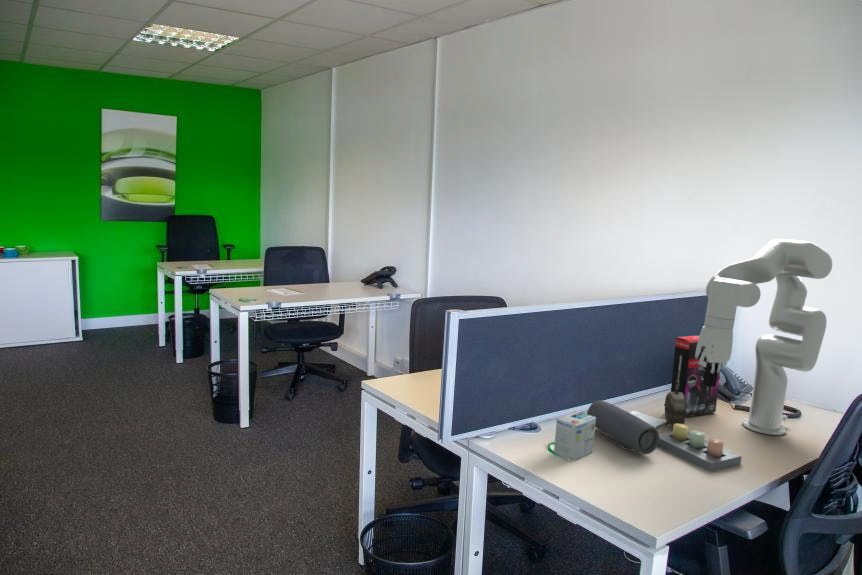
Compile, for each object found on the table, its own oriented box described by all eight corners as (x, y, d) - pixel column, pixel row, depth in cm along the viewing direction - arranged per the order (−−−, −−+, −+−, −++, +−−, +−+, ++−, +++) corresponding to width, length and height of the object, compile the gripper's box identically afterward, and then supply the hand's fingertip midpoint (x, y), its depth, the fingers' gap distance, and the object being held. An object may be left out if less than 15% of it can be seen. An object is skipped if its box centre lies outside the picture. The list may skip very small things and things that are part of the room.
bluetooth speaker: (659, 456, 172) (663, 423, 170) (633, 460, 168) (637, 426, 167) (607, 427, 193) (610, 397, 191) (583, 429, 189) (586, 399, 187)
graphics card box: (682, 419, 204) (691, 341, 200) (665, 412, 210) (675, 336, 206) (716, 413, 212) (726, 338, 208) (699, 406, 218) (709, 333, 214)
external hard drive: (655, 431, 193) (620, 419, 202) (667, 426, 198) (633, 414, 208) (655, 426, 193) (621, 414, 202) (668, 421, 198) (634, 409, 207)
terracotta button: (712, 450, 173) (714, 437, 172) (725, 456, 169) (726, 443, 169) (703, 452, 171) (705, 439, 170) (715, 458, 167) (717, 445, 167)
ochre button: (678, 435, 183) (680, 422, 183) (689, 440, 180) (691, 427, 179) (669, 436, 181) (670, 424, 181) (680, 442, 178) (681, 429, 177)
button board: (682, 437, 187) (683, 429, 187) (740, 464, 170) (741, 456, 170) (652, 443, 181) (653, 435, 181) (710, 471, 164) (711, 463, 164)
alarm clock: (684, 435, 189) (690, 386, 187) (666, 433, 190) (672, 384, 188) (677, 423, 200) (683, 376, 197) (660, 420, 201) (665, 374, 198)
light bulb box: (573, 444, 177) (576, 409, 175) (593, 452, 172) (597, 416, 170) (552, 454, 169) (555, 417, 168) (573, 462, 165) (576, 425, 163)
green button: (695, 442, 178) (696, 430, 177) (706, 448, 174) (708, 435, 174) (685, 444, 176) (687, 431, 176) (697, 450, 173) (699, 437, 172)
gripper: (724, 320, 178) (714, 380, 180) (690, 320, 171) (680, 383, 173) (747, 326, 171) (737, 388, 174) (713, 326, 164) (703, 391, 166)
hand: (709, 385), depth 173 cm, fingers closed
